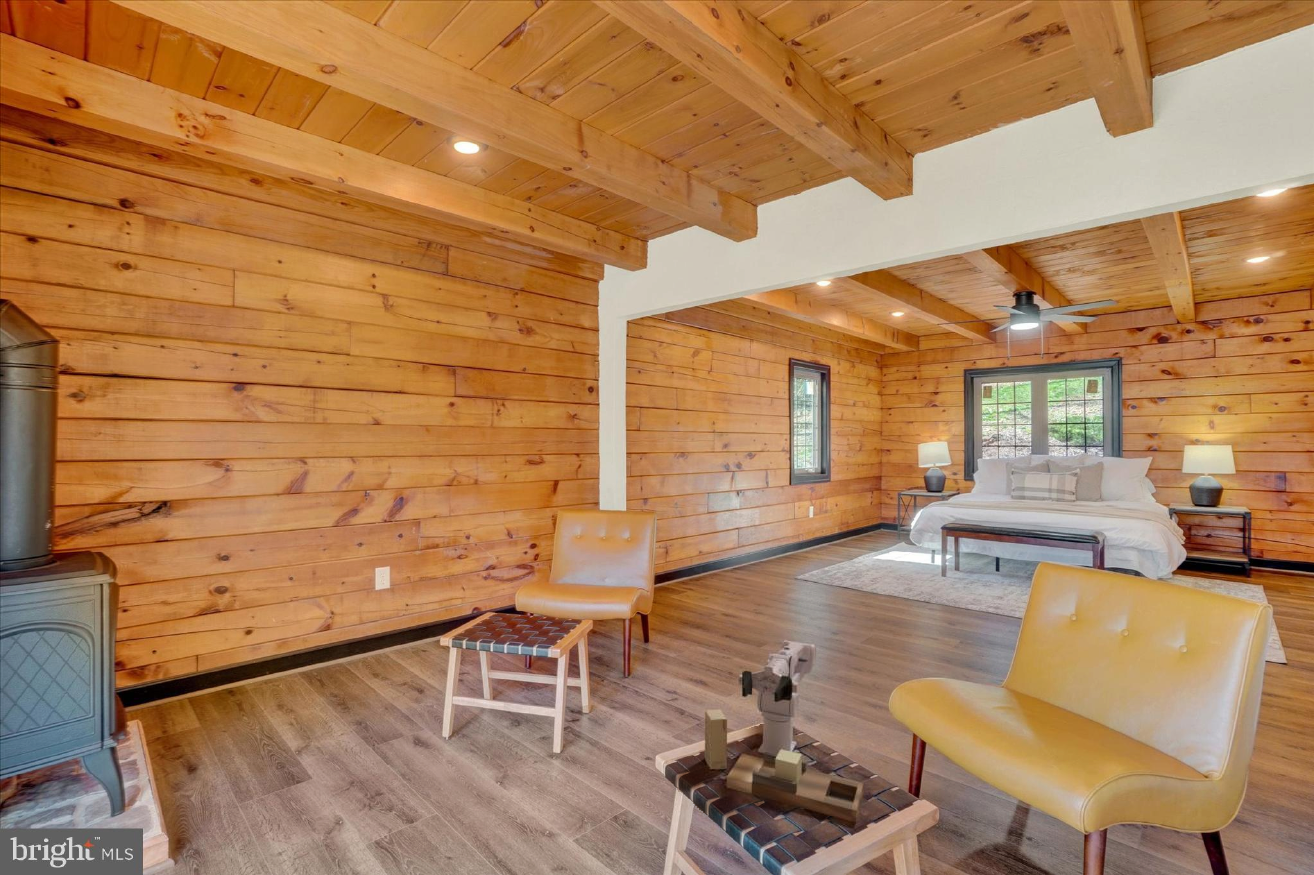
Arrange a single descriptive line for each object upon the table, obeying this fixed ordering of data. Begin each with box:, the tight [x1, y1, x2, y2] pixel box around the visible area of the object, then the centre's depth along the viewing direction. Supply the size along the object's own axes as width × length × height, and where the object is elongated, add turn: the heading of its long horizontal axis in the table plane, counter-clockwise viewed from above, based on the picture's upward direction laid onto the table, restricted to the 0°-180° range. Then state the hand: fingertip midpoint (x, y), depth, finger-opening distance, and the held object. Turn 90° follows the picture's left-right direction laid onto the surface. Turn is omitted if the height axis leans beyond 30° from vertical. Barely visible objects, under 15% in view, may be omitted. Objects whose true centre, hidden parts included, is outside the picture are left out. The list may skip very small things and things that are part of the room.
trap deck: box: [726, 752, 865, 823], centre depth 141 cm, size 12×29×4 cm, turn 65°
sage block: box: [775, 749, 803, 784], centre depth 142 cm, size 5×5×5 cm
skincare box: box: [704, 709, 728, 770], centre depth 153 cm, size 6×4×12 cm
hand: (759, 694), depth 143 cm, fingers open, 7 cm apart
